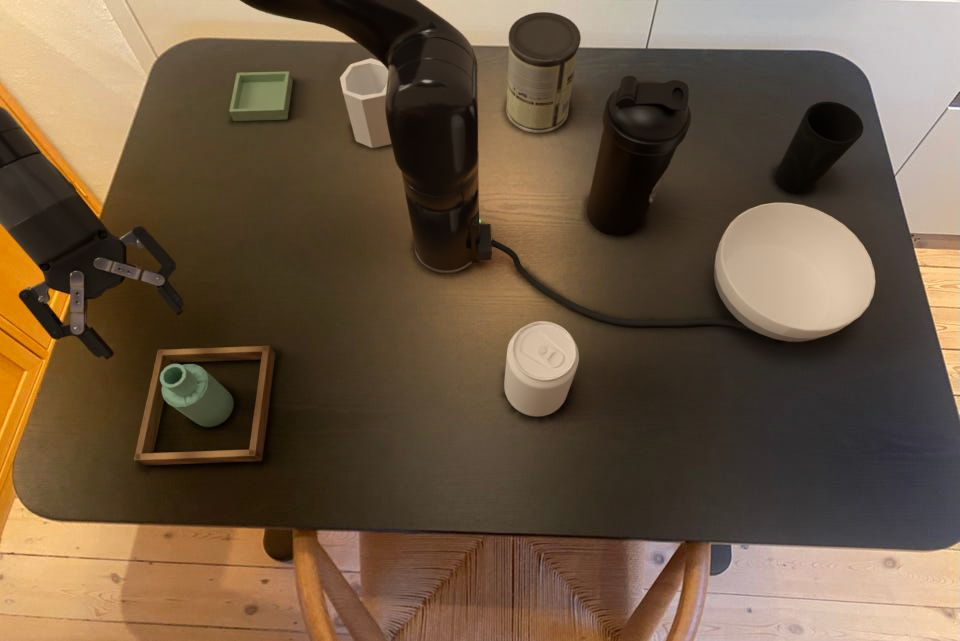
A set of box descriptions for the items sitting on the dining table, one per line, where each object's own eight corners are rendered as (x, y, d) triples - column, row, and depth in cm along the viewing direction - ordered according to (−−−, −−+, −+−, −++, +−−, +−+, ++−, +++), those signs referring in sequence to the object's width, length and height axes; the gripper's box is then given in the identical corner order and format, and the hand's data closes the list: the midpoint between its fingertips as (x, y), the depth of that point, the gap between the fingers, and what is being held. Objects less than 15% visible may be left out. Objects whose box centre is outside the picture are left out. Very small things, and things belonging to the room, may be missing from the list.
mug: (347, 146, 96) (334, 98, 87) (357, 106, 99) (345, 56, 91) (423, 151, 95) (417, 103, 86) (429, 111, 99) (424, 61, 90)
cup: (829, 191, 91) (875, 133, 80) (786, 206, 90) (828, 150, 79) (799, 154, 94) (840, 94, 84) (757, 168, 93) (793, 109, 82)
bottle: (236, 387, 78) (200, 352, 68) (230, 426, 75) (192, 396, 65) (195, 388, 77) (153, 354, 68) (188, 427, 75) (144, 398, 65)
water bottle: (647, 246, 87) (698, 129, 66) (576, 234, 88) (605, 116, 67) (652, 191, 91) (702, 65, 71) (585, 180, 92) (614, 53, 72)
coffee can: (506, 86, 101) (509, 10, 89) (567, 88, 101) (579, 12, 88) (504, 133, 97) (507, 59, 84) (569, 134, 96) (582, 61, 84)
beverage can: (529, 347, 80) (536, 304, 69) (579, 383, 78) (595, 345, 67) (491, 391, 77) (492, 354, 66) (541, 431, 75) (551, 399, 64)
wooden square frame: (275, 353, 80) (269, 345, 77) (262, 461, 73) (255, 455, 71) (167, 357, 79) (157, 349, 77) (144, 465, 73) (133, 460, 71)
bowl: (842, 258, 86) (878, 222, 78) (834, 377, 78) (874, 349, 70) (708, 225, 88) (730, 187, 81) (688, 336, 80) (710, 306, 73)
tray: (292, 81, 102) (289, 71, 100) (287, 119, 98) (283, 109, 96) (241, 82, 102) (236, 72, 100) (233, 121, 98) (228, 111, 96)
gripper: (-40, 249, 57) (82, 380, 63) (103, 173, 61) (204, 303, 67) (-18, 244, 64) (90, 363, 70) (110, 176, 68) (201, 294, 74)
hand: (146, 334), depth 69 cm, fingers open, 8 cm apart
